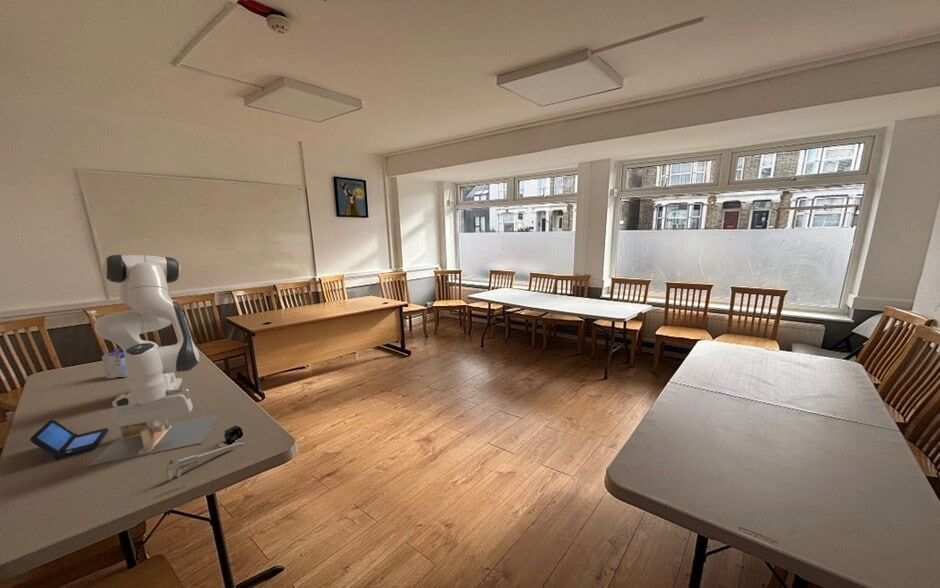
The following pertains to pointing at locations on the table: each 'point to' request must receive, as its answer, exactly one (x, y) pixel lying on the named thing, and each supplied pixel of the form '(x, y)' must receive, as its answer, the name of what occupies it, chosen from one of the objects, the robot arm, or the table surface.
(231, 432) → the black angular piece
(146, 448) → the fence panel
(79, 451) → the handheld game console
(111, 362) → the ink cartridge box
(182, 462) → the caliper
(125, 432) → the fixed fence
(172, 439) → the board
